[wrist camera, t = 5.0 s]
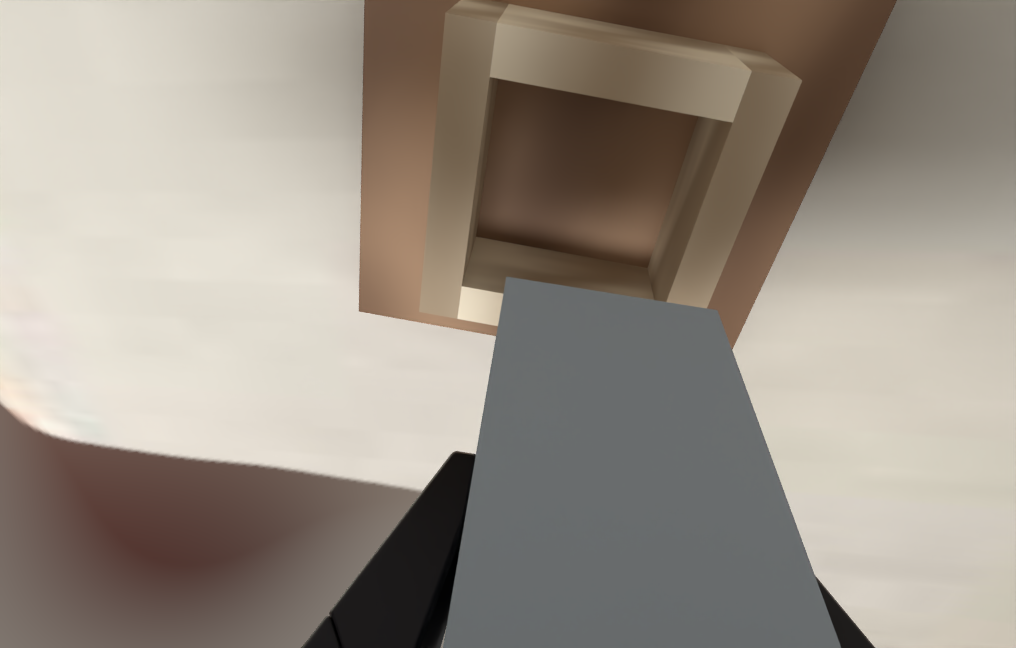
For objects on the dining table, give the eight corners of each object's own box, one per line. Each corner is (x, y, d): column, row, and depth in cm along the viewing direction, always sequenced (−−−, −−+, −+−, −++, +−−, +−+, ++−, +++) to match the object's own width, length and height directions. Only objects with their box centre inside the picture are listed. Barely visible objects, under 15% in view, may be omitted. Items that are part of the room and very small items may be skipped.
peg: (717, 310, 11) (1108, 1372, 3) (658, 456, 14) (793, 1290, 5) (506, 276, 11) (336, 1262, 3) (483, 428, 14) (350, 1225, 5)
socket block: (897, -48, 16) (993, -35, 12) (713, 357, 24) (739, 438, 20) (379, -149, 16) (322, -166, 12) (367, 294, 24) (330, 365, 20)
